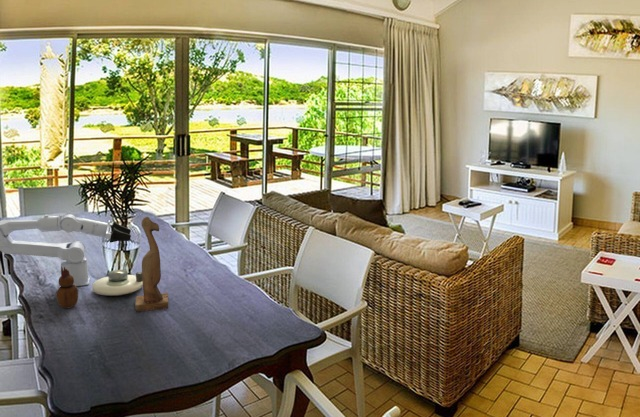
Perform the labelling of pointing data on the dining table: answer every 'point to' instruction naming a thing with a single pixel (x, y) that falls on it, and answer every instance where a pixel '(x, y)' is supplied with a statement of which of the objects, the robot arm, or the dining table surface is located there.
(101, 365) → the dining table surface
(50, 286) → the dining table surface
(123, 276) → the cover
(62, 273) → the wooden figurine
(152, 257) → the bird sculpture
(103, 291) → the turntable
